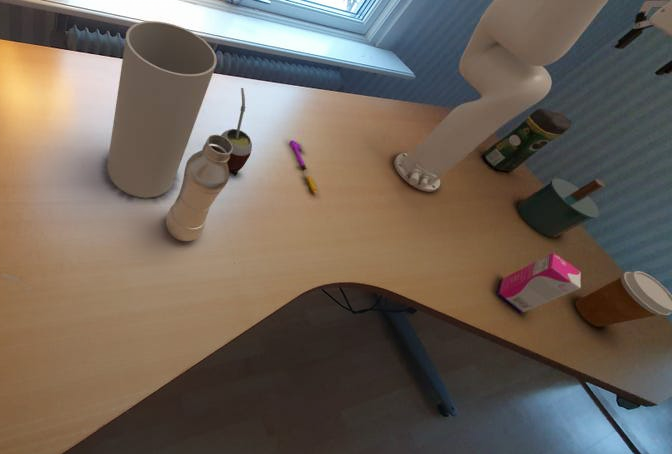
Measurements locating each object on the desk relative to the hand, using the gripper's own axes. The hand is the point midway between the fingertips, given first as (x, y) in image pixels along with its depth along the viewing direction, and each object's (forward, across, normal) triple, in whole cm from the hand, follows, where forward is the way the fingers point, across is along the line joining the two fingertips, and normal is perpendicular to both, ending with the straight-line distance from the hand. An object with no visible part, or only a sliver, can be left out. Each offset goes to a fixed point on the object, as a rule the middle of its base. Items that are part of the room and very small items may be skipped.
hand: (637, 60), depth 82 cm
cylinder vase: (+35, -10, -106) cm, 112 cm away
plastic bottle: (+35, +3, -102) cm, 108 cm away
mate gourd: (+35, -10, -88) cm, 95 cm away
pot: (+36, +18, -1) cm, 40 cm away
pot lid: (+26, +18, -1) cm, 32 cm away
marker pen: (+35, -8, -68) cm, 77 cm away
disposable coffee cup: (+36, +42, -16) cm, 57 cm away
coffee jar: (+36, -3, +6) cm, 36 cm away
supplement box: (+35, +32, -36) cm, 60 cm away
